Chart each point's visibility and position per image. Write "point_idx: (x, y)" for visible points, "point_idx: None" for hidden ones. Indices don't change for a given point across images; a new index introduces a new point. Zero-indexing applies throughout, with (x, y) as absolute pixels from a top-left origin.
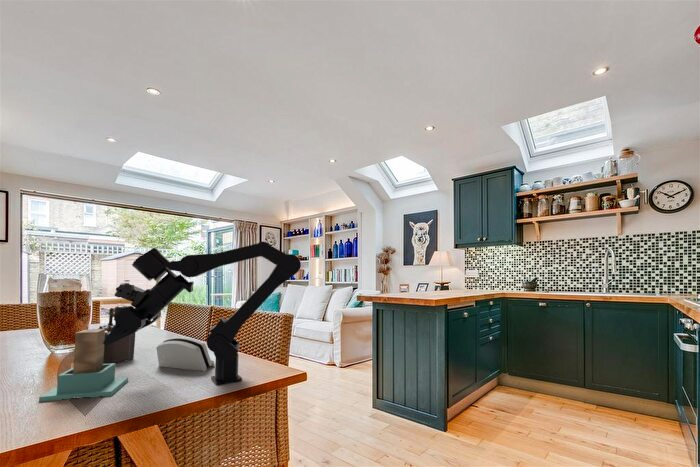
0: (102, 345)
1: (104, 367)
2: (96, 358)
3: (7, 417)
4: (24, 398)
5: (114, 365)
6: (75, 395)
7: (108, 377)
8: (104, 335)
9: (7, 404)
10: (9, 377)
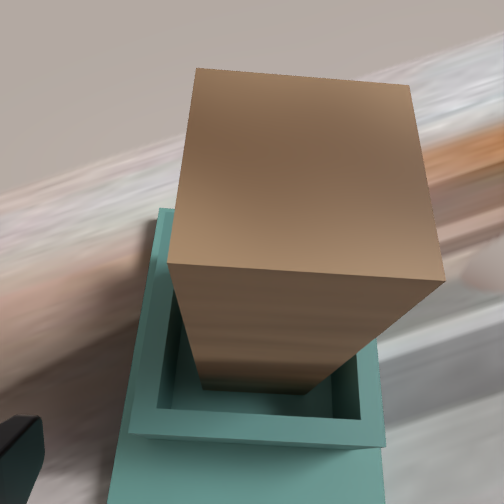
0: (326, 339)
1: (351, 383)
2: (204, 354)
3: (21, 189)
4: None
5: (365, 446)
6: (139, 334)
7: (257, 443)
8: (394, 312)
9: (176, 140)
10: (493, 42)
